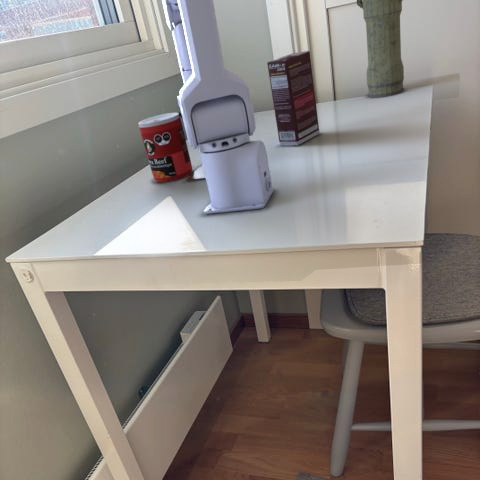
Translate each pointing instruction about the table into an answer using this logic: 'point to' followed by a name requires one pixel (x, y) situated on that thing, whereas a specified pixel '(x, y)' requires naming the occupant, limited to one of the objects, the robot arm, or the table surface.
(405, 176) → the table surface
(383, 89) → the thermos
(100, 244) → the table surface
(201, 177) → the white flat piece
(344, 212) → the table surface
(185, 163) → the canned food
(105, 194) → the table surface
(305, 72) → the supplement box
